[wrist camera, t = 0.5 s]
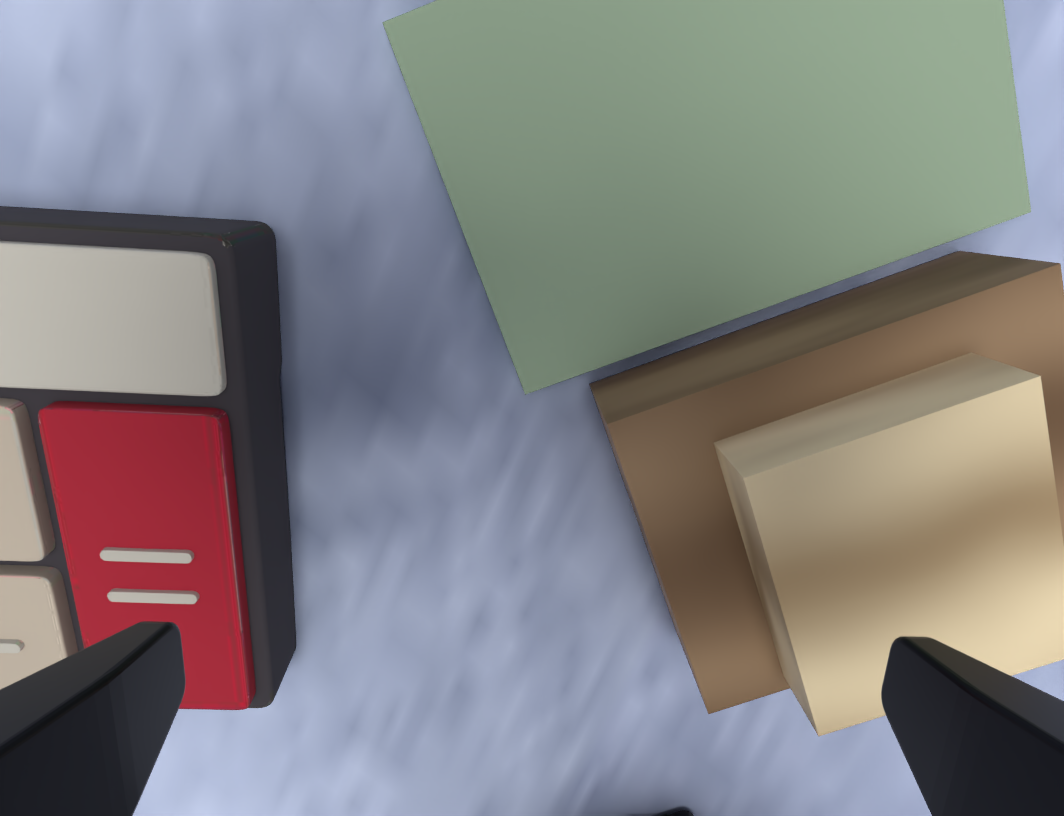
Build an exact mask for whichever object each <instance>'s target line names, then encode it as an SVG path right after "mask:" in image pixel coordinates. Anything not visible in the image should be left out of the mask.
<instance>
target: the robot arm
mask: <svg viewBox="0 0 1064 816" xmlns="http://www.w3.org/2000/svg"><path fill="white" fill-rule="evenodd" d="M185 684H186V678H185V668H184V659H183V650H182V641H181V634H180V630H179V628H178V626H177V625H176V624H175V623H173V622H157V621H143V622H139V623H136V624H134V625H132V626H130V627H128V628H126V629H124V630H122V631H120V632H118V633H116V634H114V635H112V636H110V637H107V638H105V639H103V640H101V641H99V642H97V643H95V644H93V645H91V646H89V647H87V648H85V649H83V650H81V651H79V652H76V653H74V654H72V655H70V656H68V657H66V658H64V659H62V660H60V661H58V662H56V663H54V664H52V665H50V666H48V667H46V668H43V669H41V670H39V671H37V672H35V673H33V674H31V675H29V676H27V677H25V678H23V679H21V680H19V681H17V682H15V683H13V684H10V685H8V686H6V687H4V688H2V689H0V816H132V815H133V813H134V811H135V809H136V807H137V804H138V802H139V800H140V798H141V795H142V793H143V791H144V788H145V786H146V784H147V781H148V779H149V777H150V774H151V772H152V770H153V767H154V765H155V763H156V760H157V758H158V756H159V753H160V751H161V749H162V746H163V744H164V742H165V739H166V737H167V735H168V732H169V730H170V727H171V725H172V723H173V720H174V718H175V716H176V713H177V711H178V709H179V706H180V704H181V702H182V699H183V696H184V692H185ZM881 700H882V705H883V709H884V712H885V714H886V716H887V718H888V721H889V723H890V725H891V727H892V729H893V732H894V734H895V736H896V738H897V740H898V742H899V745H900V747H901V749H902V751H903V753H904V756H905V758H906V760H907V762H908V764H909V766H910V769H911V771H912V773H913V775H914V777H915V780H916V782H917V784H918V786H919V788H920V791H921V793H922V795H923V797H924V799H925V801H926V804H927V806H928V808H929V810H930V812H931V814H932V816H1064V701H1062V700H1060V699H1058V698H1056V697H1054V696H1052V695H1049V694H1047V693H1045V692H1043V691H1041V690H1039V689H1037V688H1035V687H1033V686H1031V685H1029V684H1027V683H1025V682H1022V681H1020V680H1018V679H1016V678H1014V677H1012V676H1010V675H1008V674H1006V673H1004V672H1002V671H1000V670H998V669H995V668H993V667H991V666H989V665H987V664H985V663H983V662H981V661H979V660H977V659H975V658H973V657H971V656H968V655H966V654H964V653H962V652H960V651H958V650H956V649H954V648H952V647H950V646H948V645H946V644H944V643H941V642H939V641H937V640H935V639H933V638H930V637H917V636H901V637H898V638H896V639H895V640H894V641H893V643H892V645H891V648H890V652H889V657H888V661H887V666H886V671H885V675H884V680H883V684H882V690H881ZM666 816H694V815H693V814H692V813H691V812H689V811H679V812H675V813H672V814H669V815H666Z"/></svg>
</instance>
